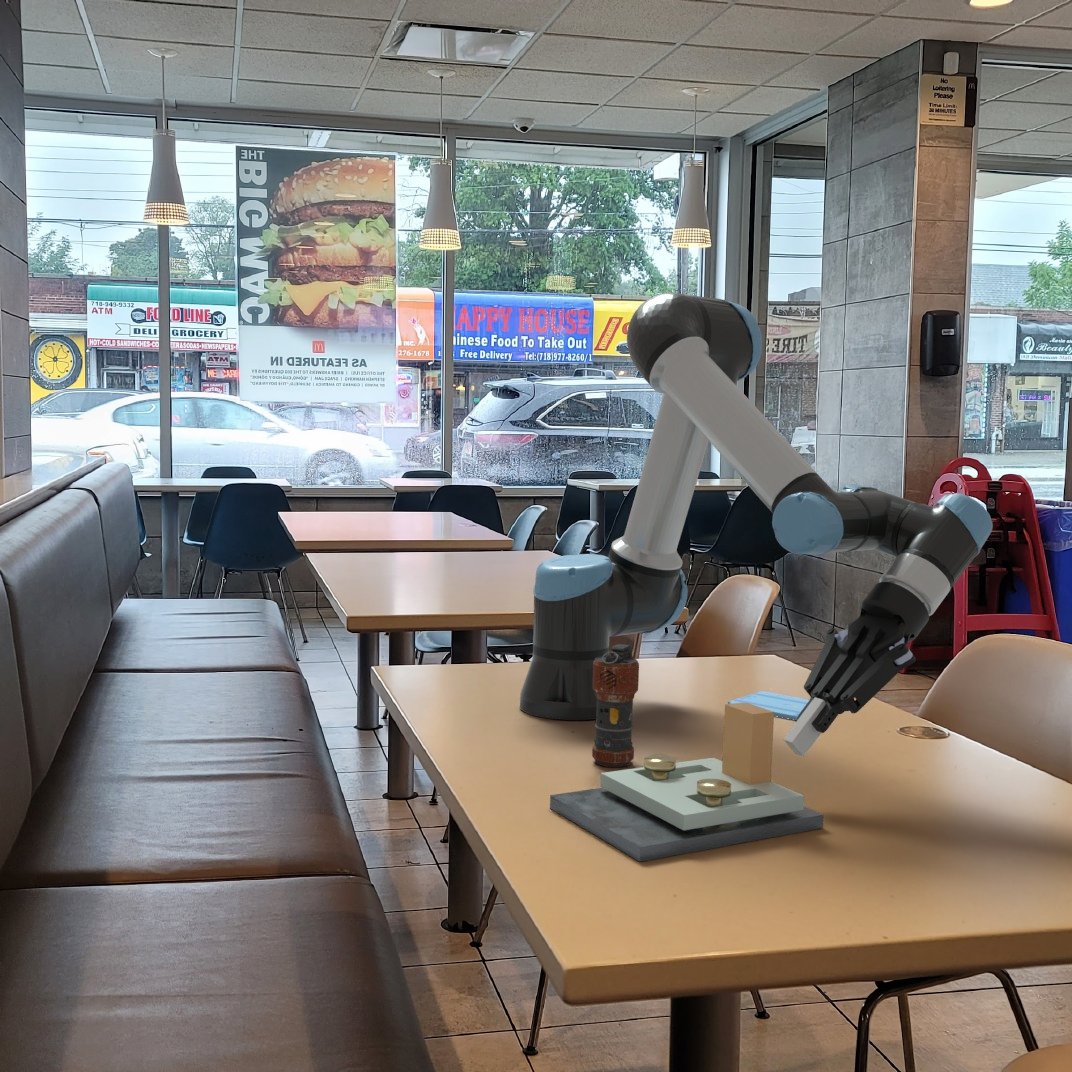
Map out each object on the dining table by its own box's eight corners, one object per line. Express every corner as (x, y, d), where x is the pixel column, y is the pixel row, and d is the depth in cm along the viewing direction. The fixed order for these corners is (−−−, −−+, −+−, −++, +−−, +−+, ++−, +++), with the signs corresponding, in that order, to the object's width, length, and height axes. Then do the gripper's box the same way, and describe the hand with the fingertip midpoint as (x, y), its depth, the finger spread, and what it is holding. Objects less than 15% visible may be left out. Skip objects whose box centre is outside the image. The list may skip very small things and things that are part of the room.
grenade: (646, 757, 152) (650, 644, 150) (625, 772, 145) (629, 654, 143) (604, 751, 154) (608, 640, 153) (582, 765, 147) (586, 649, 146)
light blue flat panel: (724, 709, 182) (724, 701, 182) (762, 698, 191) (762, 690, 191) (802, 725, 173) (802, 717, 173) (837, 712, 182) (838, 704, 182)
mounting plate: (550, 808, 130) (551, 762, 129) (720, 782, 141) (722, 740, 141) (639, 861, 114) (641, 809, 114) (822, 828, 126) (825, 780, 125)
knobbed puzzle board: (600, 786, 132) (603, 704, 131) (712, 770, 139) (716, 692, 138) (683, 830, 118) (687, 738, 117) (803, 809, 125) (807, 723, 125)
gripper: (960, 628, 137) (849, 782, 130) (878, 612, 148) (772, 753, 142) (931, 585, 134) (816, 741, 127) (850, 572, 145) (740, 715, 139)
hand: (793, 747), depth 134 cm, fingers closed
